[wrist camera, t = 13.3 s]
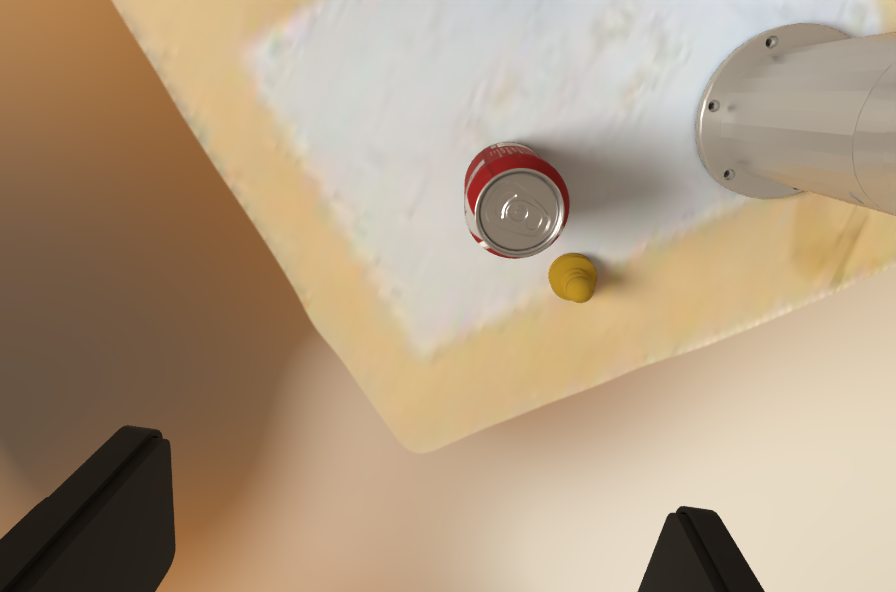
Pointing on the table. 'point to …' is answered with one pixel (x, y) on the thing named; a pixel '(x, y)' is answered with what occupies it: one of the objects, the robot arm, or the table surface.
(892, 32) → the robot arm
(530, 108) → the table surface
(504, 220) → the soda can
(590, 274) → the chess piece
